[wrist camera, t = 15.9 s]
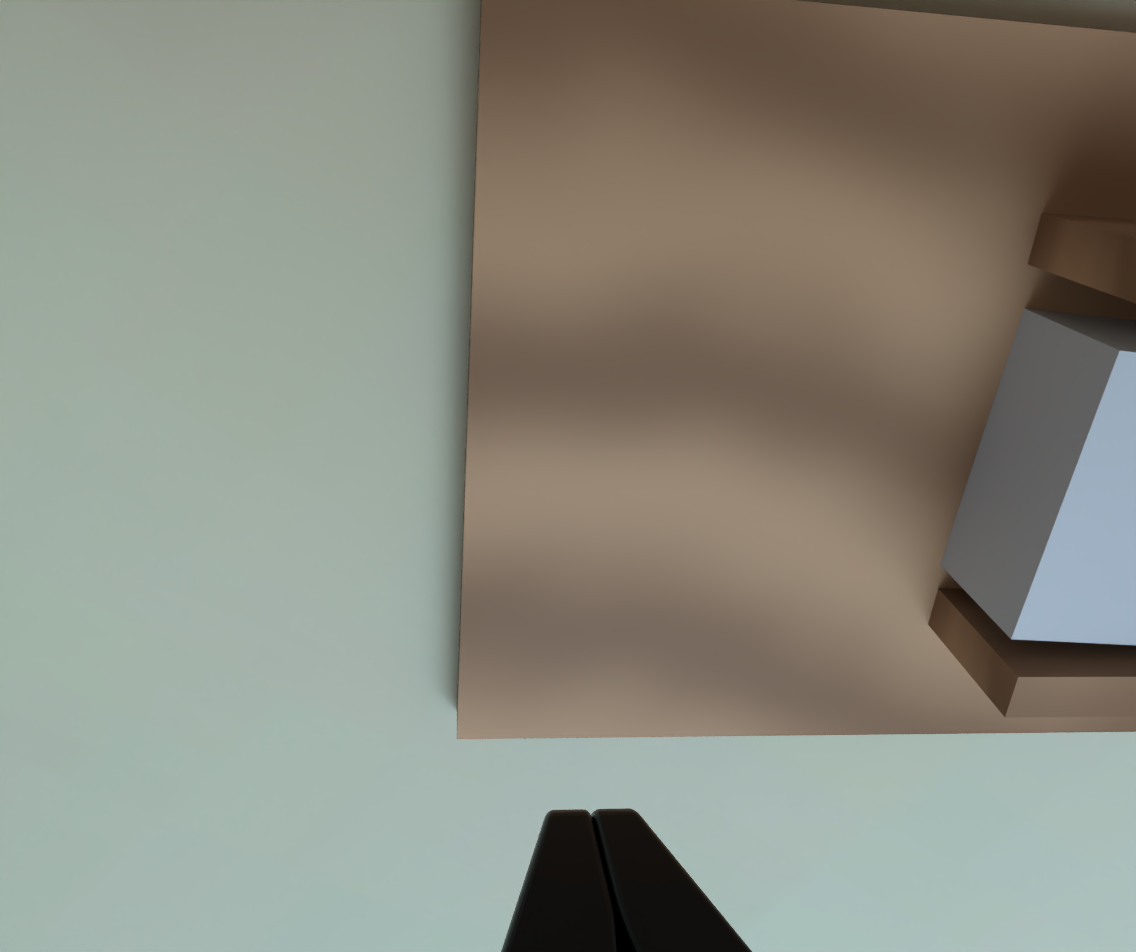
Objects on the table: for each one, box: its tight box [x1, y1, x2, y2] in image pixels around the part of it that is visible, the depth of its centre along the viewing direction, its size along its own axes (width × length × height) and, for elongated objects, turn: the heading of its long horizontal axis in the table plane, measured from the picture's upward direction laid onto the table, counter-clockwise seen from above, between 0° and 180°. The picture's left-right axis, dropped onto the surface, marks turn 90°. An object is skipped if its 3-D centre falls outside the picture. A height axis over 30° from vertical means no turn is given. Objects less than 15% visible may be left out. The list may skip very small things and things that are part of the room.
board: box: [457, 0, 1136, 739], centre depth 19 cm, size 16×23×5 cm
